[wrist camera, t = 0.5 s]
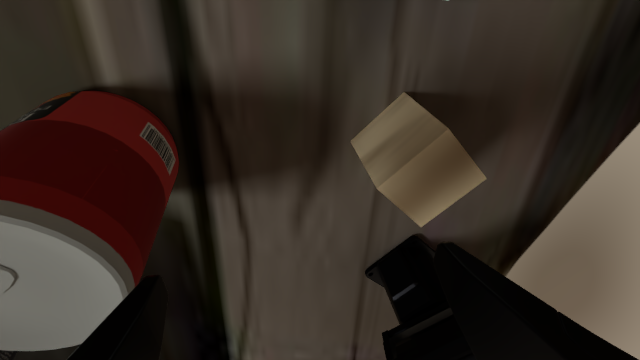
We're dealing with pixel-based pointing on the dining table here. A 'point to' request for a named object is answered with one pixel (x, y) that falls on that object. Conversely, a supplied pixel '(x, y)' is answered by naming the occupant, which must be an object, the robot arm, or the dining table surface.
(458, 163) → the block
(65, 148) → the canned food
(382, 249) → the dining table surface
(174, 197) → the dining table surface
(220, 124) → the dining table surface
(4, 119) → the dining table surface
